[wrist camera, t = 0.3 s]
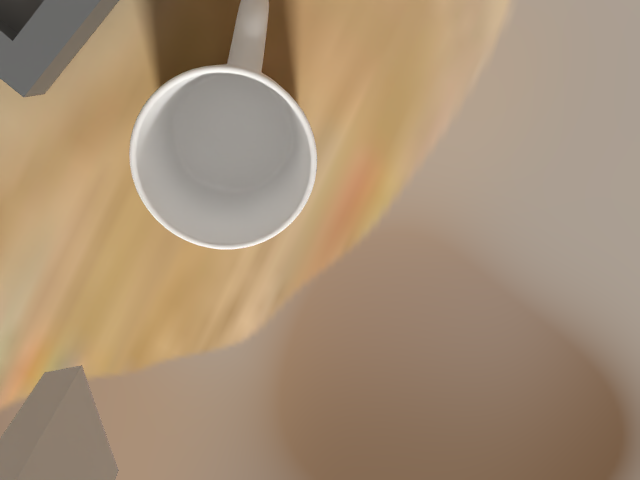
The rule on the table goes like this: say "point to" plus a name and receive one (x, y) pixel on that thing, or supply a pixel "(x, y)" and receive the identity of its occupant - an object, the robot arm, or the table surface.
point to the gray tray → (44, 39)
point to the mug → (225, 147)
